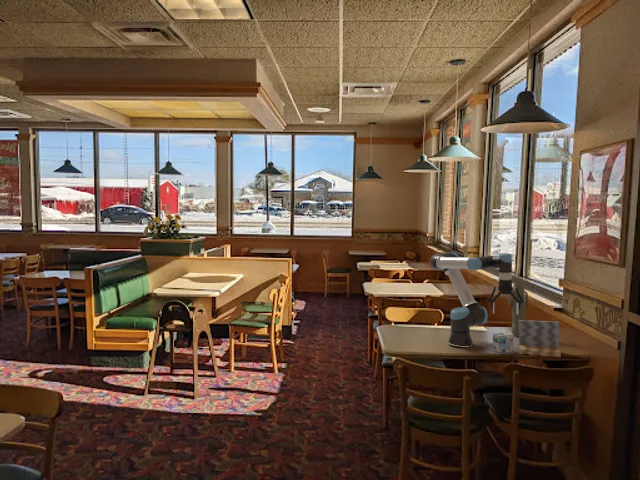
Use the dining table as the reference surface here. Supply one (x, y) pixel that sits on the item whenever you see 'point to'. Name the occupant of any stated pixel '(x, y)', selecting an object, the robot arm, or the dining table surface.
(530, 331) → the wall board
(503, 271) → the robot arm
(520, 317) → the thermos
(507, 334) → the light bulb box
